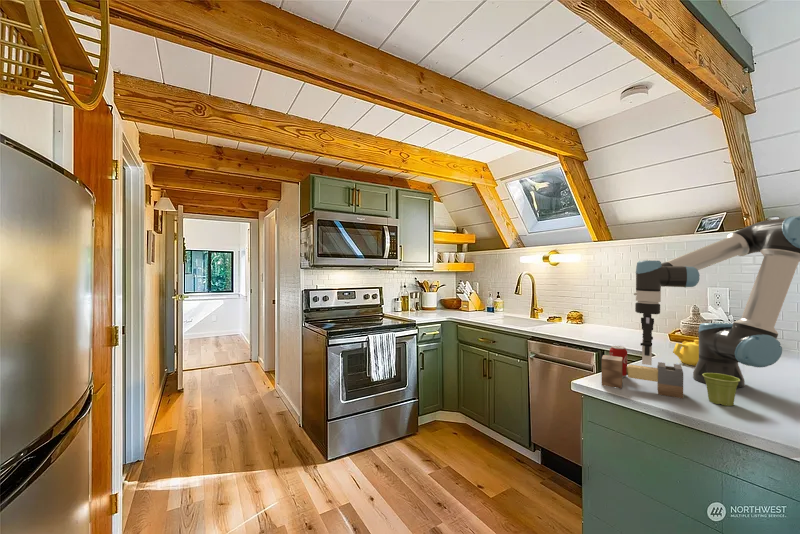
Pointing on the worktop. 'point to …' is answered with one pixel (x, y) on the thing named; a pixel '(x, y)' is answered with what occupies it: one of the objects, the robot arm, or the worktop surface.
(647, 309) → the robot arm
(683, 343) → the teapot
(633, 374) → the rod
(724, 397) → the plant pot
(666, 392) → the sleeve
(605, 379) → the socket
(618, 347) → the beverage can
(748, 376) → the worktop surface
